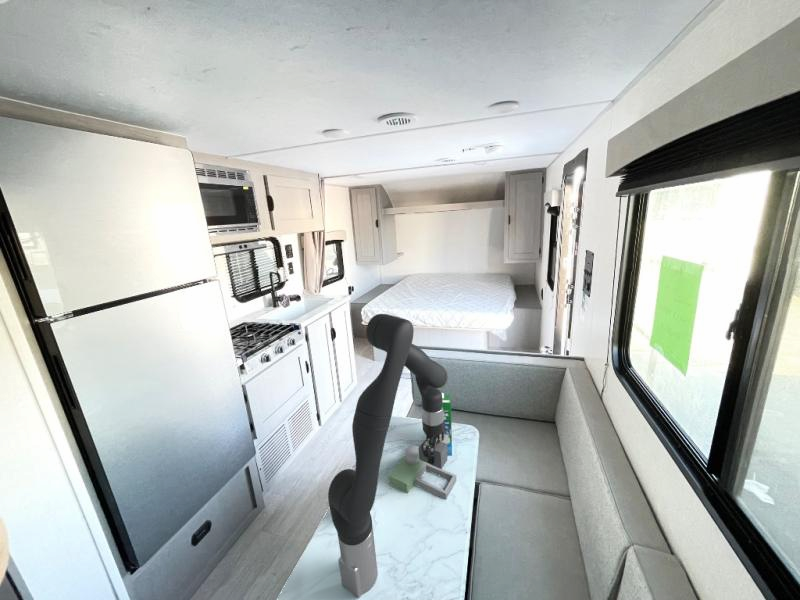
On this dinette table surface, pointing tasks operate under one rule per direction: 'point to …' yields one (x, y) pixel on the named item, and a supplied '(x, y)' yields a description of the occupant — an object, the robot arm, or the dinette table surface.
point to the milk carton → (447, 423)
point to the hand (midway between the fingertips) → (434, 458)
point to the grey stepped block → (436, 454)
